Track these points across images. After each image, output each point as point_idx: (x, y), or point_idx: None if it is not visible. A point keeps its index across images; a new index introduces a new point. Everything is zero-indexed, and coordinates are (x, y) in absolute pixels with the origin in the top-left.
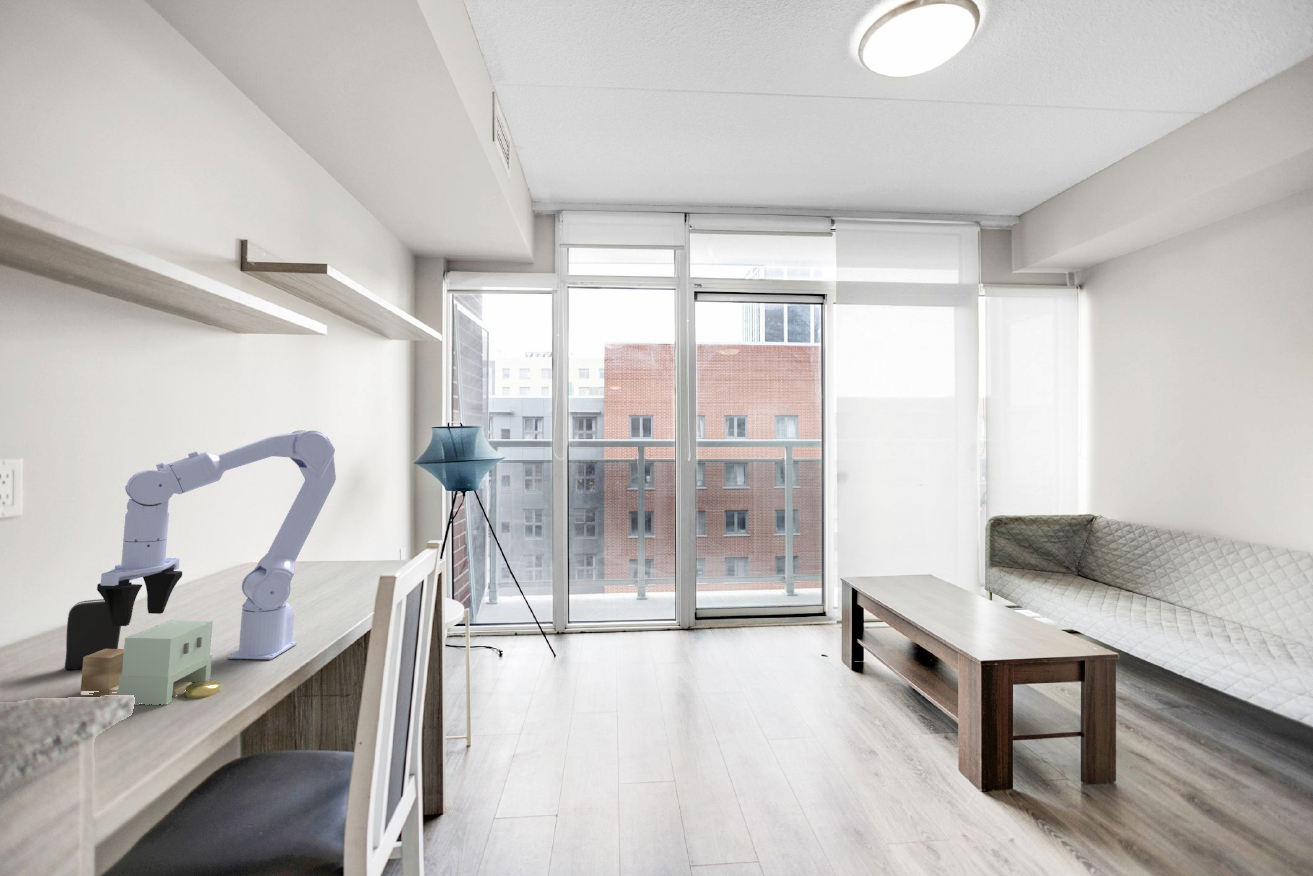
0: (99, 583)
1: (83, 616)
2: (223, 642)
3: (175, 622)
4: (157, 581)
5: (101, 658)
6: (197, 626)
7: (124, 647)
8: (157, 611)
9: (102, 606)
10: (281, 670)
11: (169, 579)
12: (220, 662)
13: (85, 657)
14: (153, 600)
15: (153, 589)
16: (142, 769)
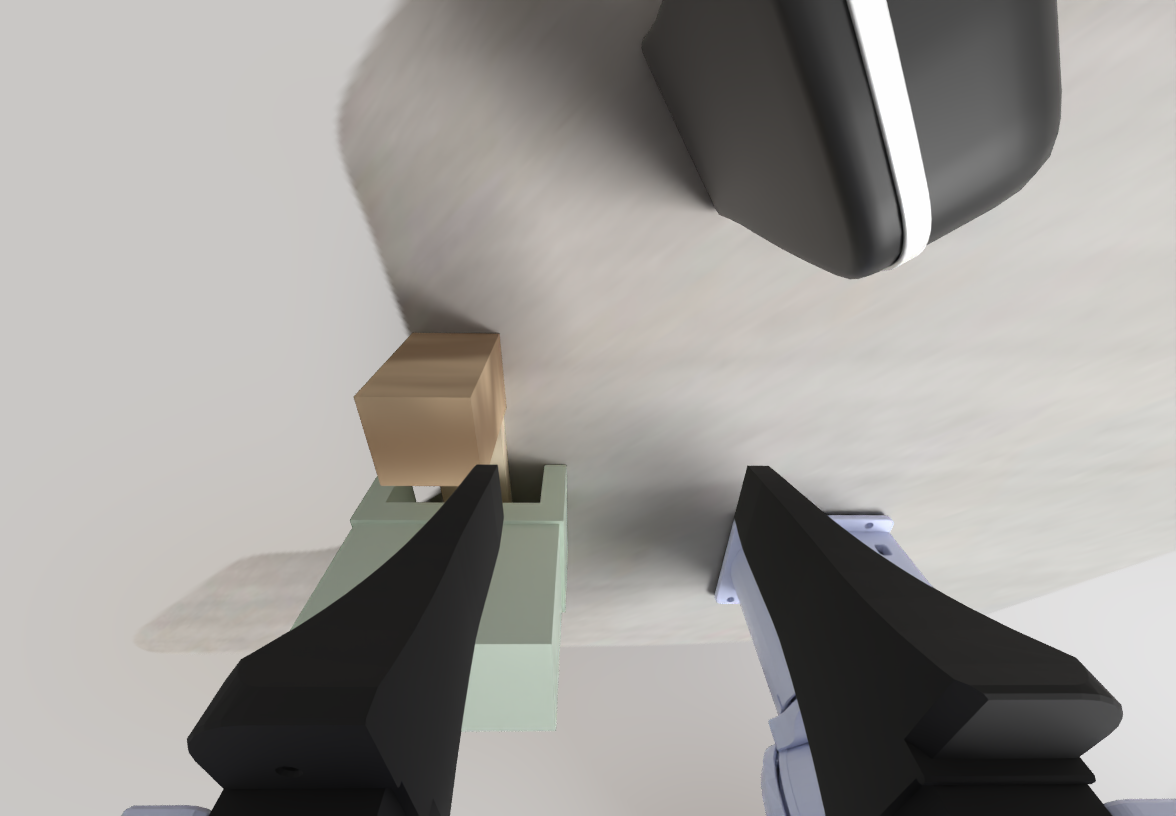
0: (235, 728)
1: (741, 48)
2: (941, 422)
3: (520, 667)
4: (852, 700)
5: (373, 455)
6: (485, 726)
7: (305, 607)
8: (741, 514)
9: (820, 177)
10: (639, 632)
11: (825, 778)
12: (711, 509)
13: (356, 403)
14: (777, 543)
15: (823, 608)
16: (191, 642)
